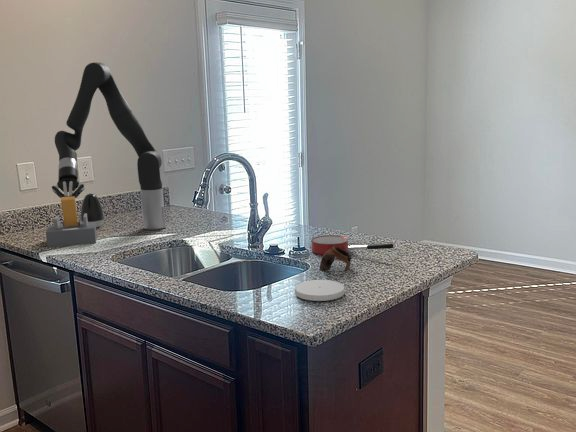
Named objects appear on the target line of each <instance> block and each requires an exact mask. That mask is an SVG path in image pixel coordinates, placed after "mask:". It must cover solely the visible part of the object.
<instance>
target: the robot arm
mask: <svg viewBox="0 0 576 432" xmlns="http://www.w3.org/2000/svg"><path fill="white" fill-rule="evenodd" d="M80 82H81V83H80V86H79V89H78V93H77V94H76V99H75V101H74V103H73V106H72V108H71V110H70V113H69V115H68V117H67V120H66V124H65V125H66V126H67V127H68V128H70V129H71V130H73V131H74V133H71V132H68V131H65V130H58V131H57V132H56V133H55V135H54V146H55V148H56V150H57V154H58V173H57V174H58V175H57V176H58V177H57V178H58V181H57V182H56V185H52V186H51V189H52V192H53V193H54V194H56V195H57V196H58V197H59V198H60V199H61V197H71V196H75V199H76V198H78V197H79V196H80V194H81V193H83V191H84V190H85V184H84V183H82V184H81V183H80V182H79V169H78V153H77V152H76V151H77V150H79V149H80V147H81V143H82V136H83V130H84V127H85V125H86V122H87V120H88V117H89V114H90V111H91V106H92V101H93V99H94V95H95V94H96V91H97V90H99V91H100V93H101V94H102V96H103V99H104V100H105V102H106V106H107V107H106V108H107V110H108V113H109V115H110V118H111V120H112V122H113V124H114V126H115V127H116V128H117V130H118V132H120V134H121V135H122V136H123V137H124V138H125V139H126V141H128V143H129V144H130V145H131V146H132V147H133V149H134V151H135V153H136V154H137V157H138V158H137V164H136V165H137V175H138V176H137V178H138V183H139V185H140V186H139V187H140V199H141V200H140V201H141V209H142V213H141V214H142V224H143V229H145V230H160V229H161V230H162V229H164V228H166V227H167V225H166V215H165V205H164V193H163V190H164V189H163V182H162V179H161V171H160V170H161V167H162V163H163V162H162V158H161V155H160V154H159V153H158V151H157V150H156V148H155V147H154V146H153V144H152V143H151V141H150V140H149V139H148V137H147V135H146V133H145V131H144V129H143V127H142V126H141V123H140V122H139V120H138V118H137V116H136V115H135V113H134V111H133V109H132V108H131V106H130V104H129V103H128V102H127V100H126V98H125V97H124V95H123V94H122V92H121V90H120V88H119V87H118V85H117V83H116V80H115V78H114V76H113V74H112V71H111V70H110V68H109V67H108V66H107V65H106V64H104V63H102V62H89V63H88V64H86V66H85V67H84V69H83V72H82V77H81V81H80Z"/></svg>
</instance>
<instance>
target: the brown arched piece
mask: <svg viewBox="0 0 576 432" xmlns="http://www.w3.org/2000/svg"><path fill="white" fill-rule="evenodd" d="M335 259H337V260H339V261H341V262H343V263H345V268H344V270H345V271H346V270H348V271H349V269H350V267H351V260H352V256H351V255H350V254H349V253H348V251H347V252H345V251H344V250H342V249H340V248H338V247H332V249H330V250H328V251H326V252H325V253H324V255H322V257H321V260H320V265H319V269H320V270H321V271H322V272H323V271H324V270H325V271H330V270H331V267H332V265H333V264H334V262H335Z"/></svg>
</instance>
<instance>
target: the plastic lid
mask: <svg viewBox="0 0 576 432" xmlns="http://www.w3.org/2000/svg"><path fill="white" fill-rule="evenodd" d="M345 293H346V292H345V285H344V284H342V283H341V282H338V281H334V280H329V279H314V280H313V279H311V280H305V281H302V282H300V283H297V284H296V285H295V287H294V295H295V296H297V297H298V298H300V299H303V300H305V301H315V302H323V301H324V302H325V301H326V302H327V301H332V300H337V299H340V298H341V297H342V296H344V295H345Z"/></svg>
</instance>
